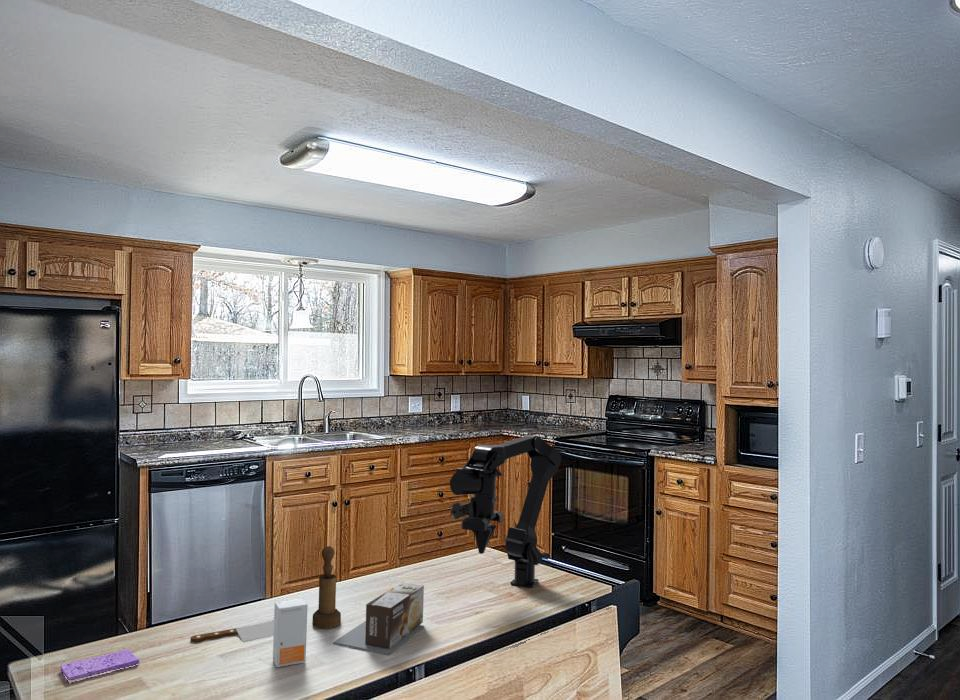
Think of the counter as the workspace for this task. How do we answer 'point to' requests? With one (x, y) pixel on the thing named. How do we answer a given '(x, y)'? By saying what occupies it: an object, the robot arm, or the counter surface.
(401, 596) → the coffee box
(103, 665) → the sponges
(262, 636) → the kitchen cleaver
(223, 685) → the counter surface
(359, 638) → the mat
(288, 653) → the skincare box
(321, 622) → the mortar and pestle
